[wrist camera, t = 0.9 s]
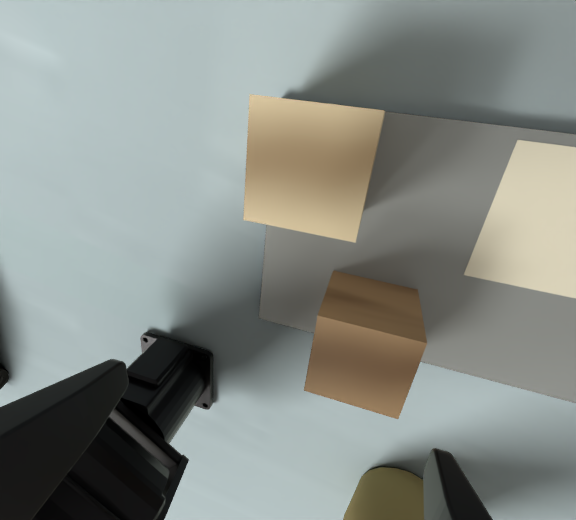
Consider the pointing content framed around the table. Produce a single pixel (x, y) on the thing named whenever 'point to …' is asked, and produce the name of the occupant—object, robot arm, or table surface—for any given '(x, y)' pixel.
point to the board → (457, 248)
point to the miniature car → (3, 377)
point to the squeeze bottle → (387, 496)
